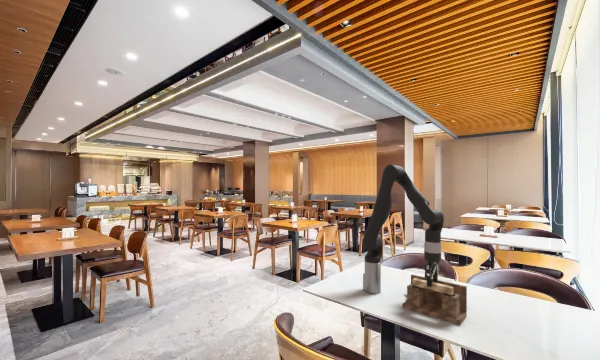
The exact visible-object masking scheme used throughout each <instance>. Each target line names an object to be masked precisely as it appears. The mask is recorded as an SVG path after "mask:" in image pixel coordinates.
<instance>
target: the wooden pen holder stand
mask: <svg viewBox="0 0 600 360" xmlns="http://www.w3.org/2000/svg"><path fill="white" fill-rule="evenodd" d="M414 278H417V279H421V280H426V281H427V278H425V276H421V275H418V274H417V275H416V274H410V284H408V285H407V286H406V298H407V300H406V301H403V303H402V308H403V309H407V310H409V311H412V312H416V313H418V314H419V313H420V314H423V315H426V316H430V317H432V318H436V319H440V320H442V321H445V322H449V323H452V324H455V325H459V326H461V325H462V323H463V322H464V320H465V319H466V318H467V315H468V314H467V312H468V308H467V307H468V305H467V303H468V301H467V295H468V294H467V293H468V292H467V291H468V290H467V289H468V287H467V286H466V285H463V284H462V285H461V284H457V283H453V282H449V281H443V280H439V279H438V282H435V283H439V284H444V285H448V286H452V287H454V297H451V296H448V294H446V293H442V292H438V291H433V290H429V289H425V288H421V287H417V288H415V287H413V279H414ZM432 280H433V278H432ZM432 282H433V281H432Z"/></svg>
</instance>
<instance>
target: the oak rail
mask: <svg viewBox="0 0 600 360" xmlns="http://www.w3.org/2000/svg"><path fill="white" fill-rule="evenodd" d="M413 287H415V288H417V287H421V288H425V289H429V290H433V291H438V292H442V293H446V294H448V296H451V297H454V287H452V286H448V285H444V284H439V283H435V282H432V287H429V286H427V281H426V280H421V279H417V278H414V279H413Z"/></svg>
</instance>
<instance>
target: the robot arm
mask: <svg viewBox="0 0 600 360" xmlns="http://www.w3.org/2000/svg"><path fill="white" fill-rule="evenodd" d="M395 183H397V184H398V185H400V187H402V189H403V190H404V191H405V195H406V197H407V199H408V202H410V203H411V205H413V206H414V208H415V209H416V210H417V213H418V214H419V217H420V219H421V220H422V221H423V222H424V223H425V224H427V225H429V226H428V228H427V229H425V231H424V246H423V248H424V249H423V259H424V260H425V261H426V262H427V264H425V265H424V277H425V278H427V286H429V287H432V281H433V282H438V280H439V278H438V276H439V273H440V263H441V261H442V242H441V241H442V239H441V238H442V235H441V234H442V231H443V227H444V223H445V216H444V213H443V212H442V211H441V210H439V209H431V208H430V201H429V199H427V197H425V195H424V194H423V193H422V192H421V191H420V190H419V188H417V186H416V185H415V183H414V182H413V180H412V179H411V178H410V176H409V174H408V173H407V172H406V170H405V169H404V167H402V166H401V165H396V164H387V165H386V166H385V167H384V169H383V172H382V176H381V181H380V186H379V189H378V193H377V197H376V200H375V202H374V206H373V209H372V214H371V216H370V219H369V223H368V225H367V228H366V230H365V233H364V234H363V238H362V240H361V241H362V242H361V243H362V247H363V249H365V250H366V251H367V253H366V254H365V255H364V273H363V274H362V276H363V277H362V290H363V291H364V292H366V293H369V294H375V295H377V294H380V293H381V290H382V285H381V284H382V274H381V273H382V262H381V261H382V258H383V249H384V244H383V238H382V236H381V235H380V234H379V233H380V231H381V228H382V227H383V226H384V225H385V223H386V222H387V219H388V218H389V216H390V214H391V210H392V207H393V199H392V189H393V185H394V184H395ZM432 279H433V280H432Z"/></svg>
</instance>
